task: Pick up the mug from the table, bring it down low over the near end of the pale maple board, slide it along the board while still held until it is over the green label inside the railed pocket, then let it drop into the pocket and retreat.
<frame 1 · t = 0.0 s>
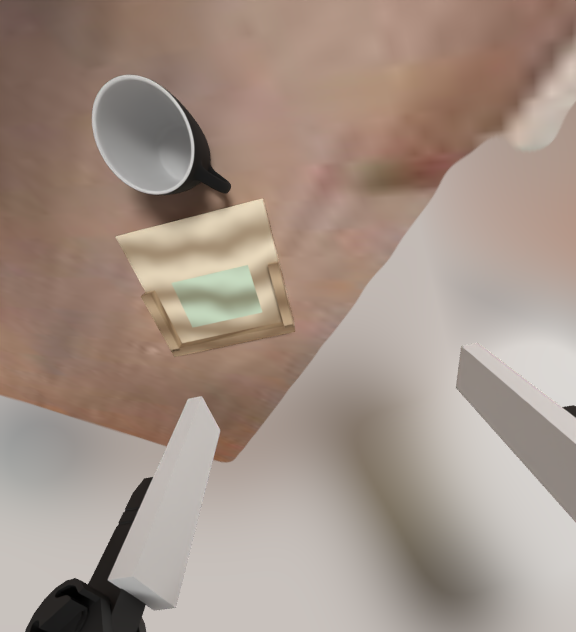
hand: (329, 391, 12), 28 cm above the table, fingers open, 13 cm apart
board: (217, 282, 39), on the table
mug: (195, 162, 31), on the table
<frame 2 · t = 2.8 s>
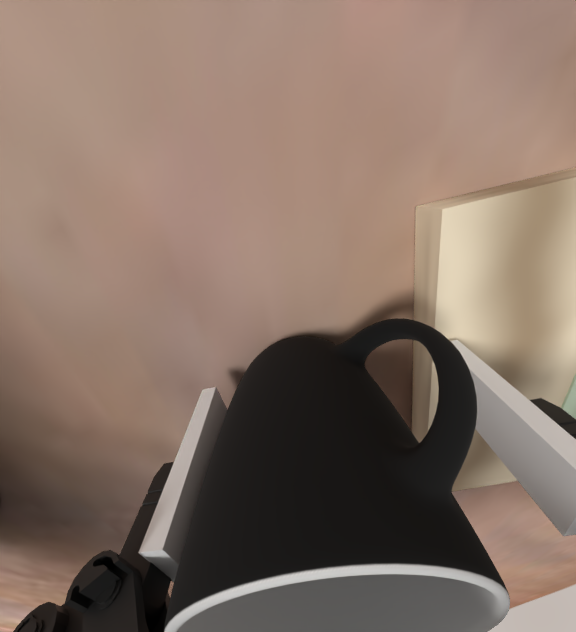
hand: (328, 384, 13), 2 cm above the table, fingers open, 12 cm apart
board: (573, 346, 15), on the table
mug: (314, 358, 15), on the table, touching gripper
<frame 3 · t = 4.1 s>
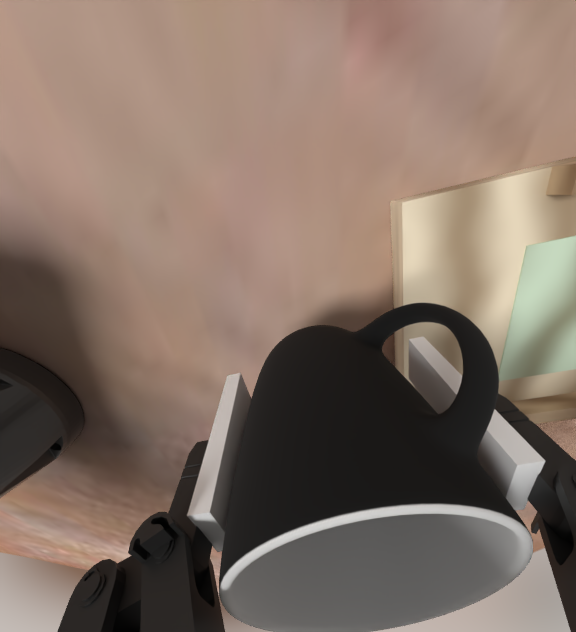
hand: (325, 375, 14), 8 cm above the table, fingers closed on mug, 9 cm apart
board: (515, 306, 20), on the table
mug: (329, 347, 16), point 6 cm above the table, touching gripper
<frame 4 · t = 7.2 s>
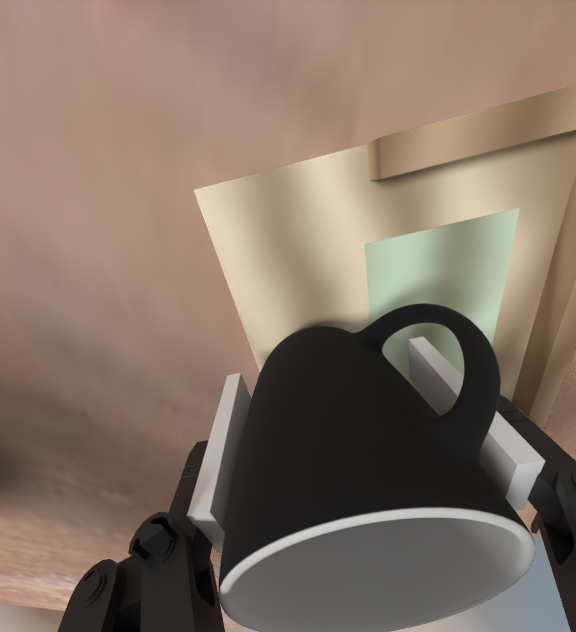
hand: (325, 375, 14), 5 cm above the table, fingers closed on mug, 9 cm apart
board: (390, 314, 18), on the table
mug: (329, 348, 16), point 3 cm above the table, touching gripper
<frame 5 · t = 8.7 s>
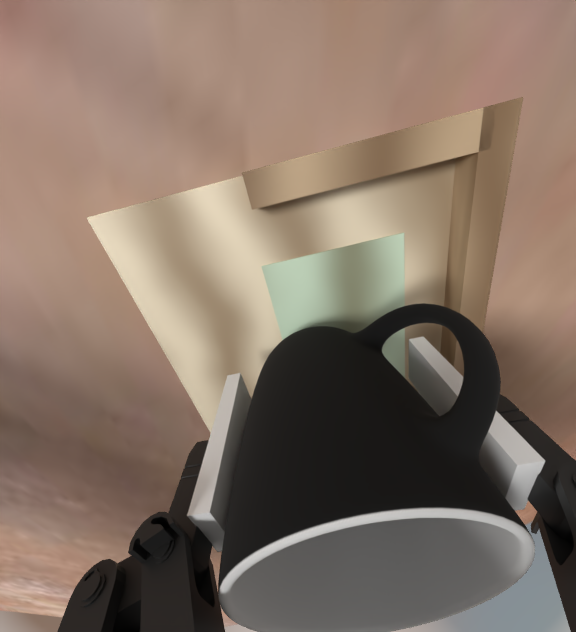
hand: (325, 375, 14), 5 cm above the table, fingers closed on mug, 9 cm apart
board: (311, 329, 18), on the table
mug: (329, 348, 16), point 3 cm above the table, touching gripper
when the fingers open (5 cm above the table, at t = 10.2 s): mug stays where it is, resting on board.
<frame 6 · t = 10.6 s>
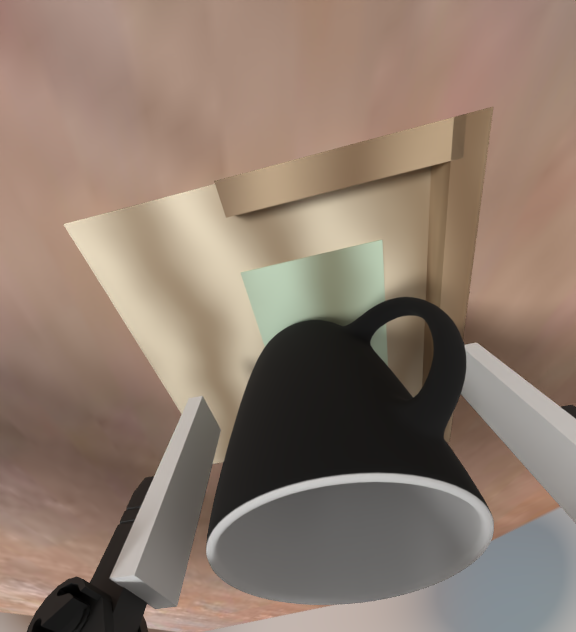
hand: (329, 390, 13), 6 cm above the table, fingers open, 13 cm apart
board: (295, 334, 18), on the table
mug: (323, 341, 16), point 2 cm above the table, touching board
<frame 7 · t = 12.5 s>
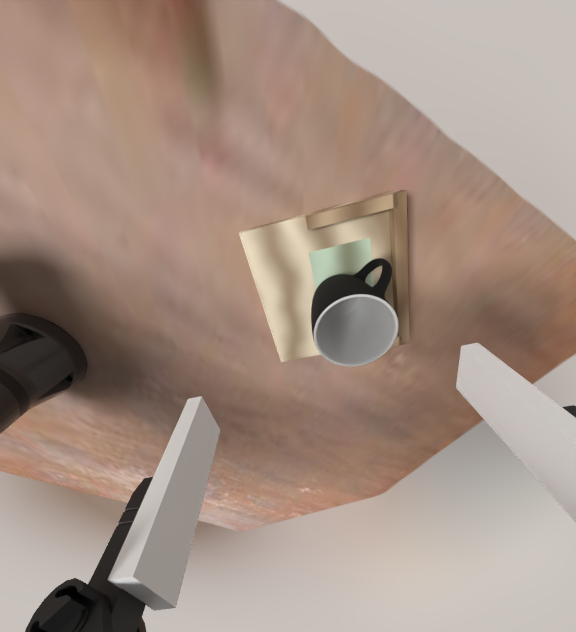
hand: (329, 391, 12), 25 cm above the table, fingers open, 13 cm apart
board: (328, 285, 36), on the table
mug: (343, 286, 34), point 2 cm above the table, touching board
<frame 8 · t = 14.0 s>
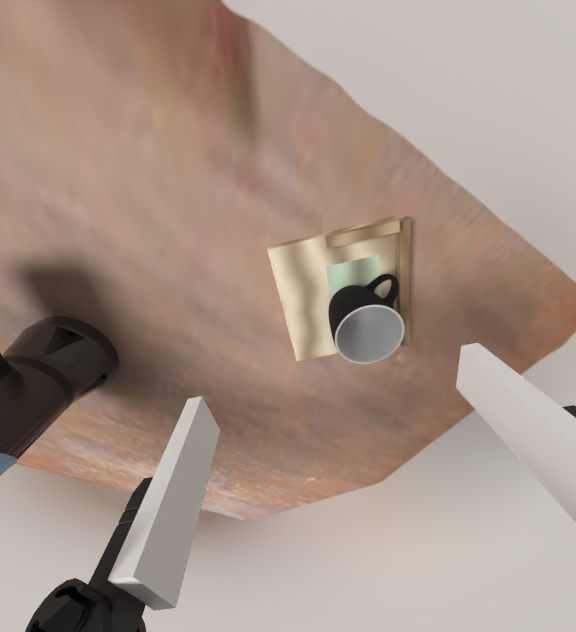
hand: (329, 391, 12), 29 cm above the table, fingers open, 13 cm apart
board: (340, 294, 41), on the table
mug: (354, 295, 39), point 2 cm above the table, touching board
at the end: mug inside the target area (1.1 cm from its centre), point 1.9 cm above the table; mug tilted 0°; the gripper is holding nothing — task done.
